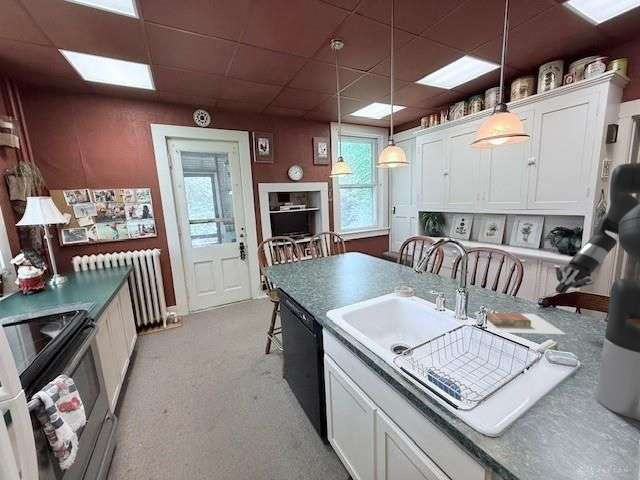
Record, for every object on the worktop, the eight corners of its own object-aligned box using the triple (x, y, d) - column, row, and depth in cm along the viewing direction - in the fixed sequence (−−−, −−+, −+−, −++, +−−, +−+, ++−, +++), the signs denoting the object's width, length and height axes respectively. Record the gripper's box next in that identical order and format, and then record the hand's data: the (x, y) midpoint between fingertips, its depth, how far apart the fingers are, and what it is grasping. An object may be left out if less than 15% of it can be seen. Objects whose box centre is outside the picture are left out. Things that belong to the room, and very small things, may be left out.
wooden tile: (520, 313, 114) (485, 312, 116) (531, 320, 108) (494, 319, 109) (519, 318, 115) (485, 318, 116) (530, 326, 108) (494, 325, 109)
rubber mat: (533, 315, 119) (533, 313, 119) (566, 335, 102) (566, 334, 102) (473, 313, 122) (473, 312, 122) (495, 333, 104) (495, 332, 104)
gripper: (565, 248, 109) (537, 281, 111) (604, 258, 97) (571, 295, 99) (574, 257, 112) (546, 289, 113) (613, 269, 99) (581, 305, 101)
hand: (558, 292), depth 106 cm, fingers closed
